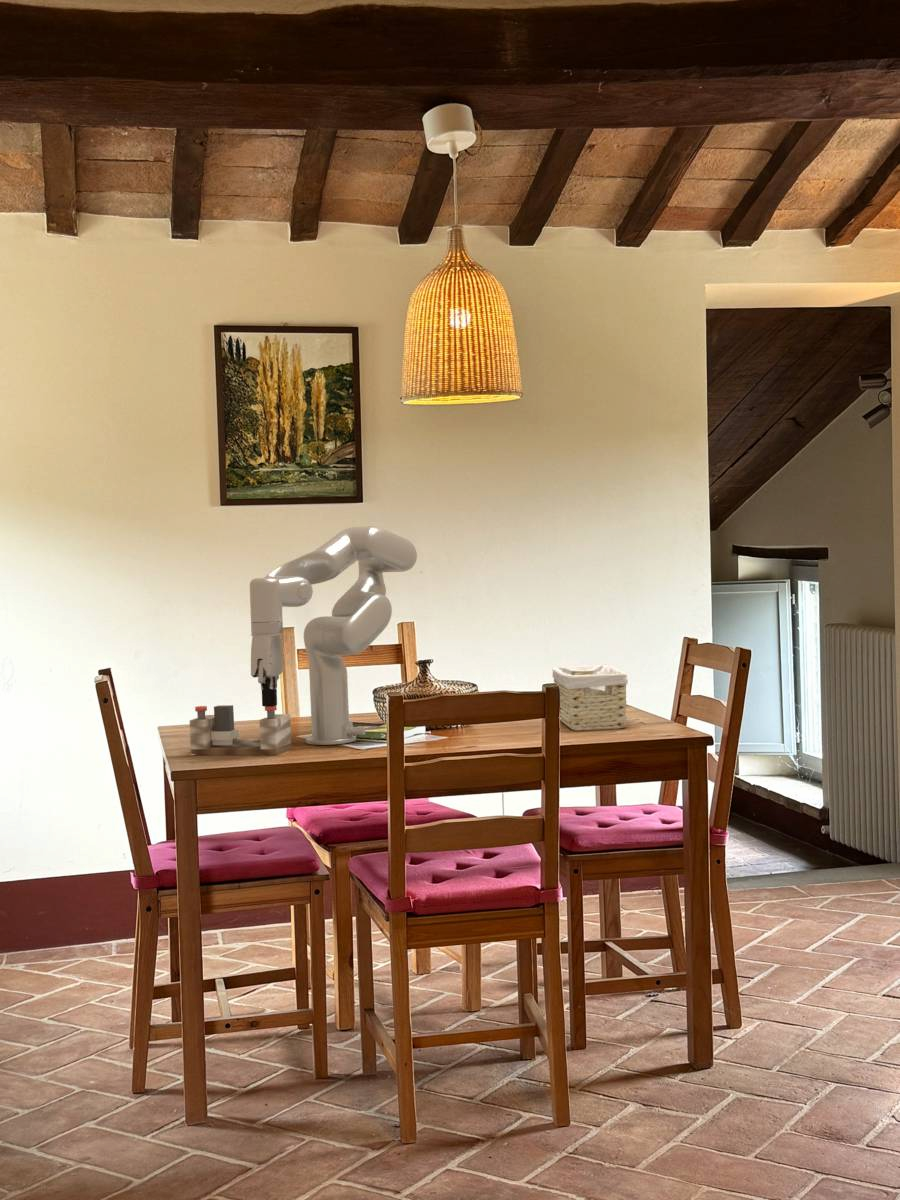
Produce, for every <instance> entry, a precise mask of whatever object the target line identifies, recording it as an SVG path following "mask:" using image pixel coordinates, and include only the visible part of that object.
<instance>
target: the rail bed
mask: <svg viewBox="0 0 900 1200" xmlns="http://www.w3.org/2000/svg"><path fill="white" fill-rule="evenodd" d="M291 728H292V727H291V714H287V713H286V714H283V713H282V714H279V713H278V714H277V713H275V719H267V716H266V717H264V718H261V719H259V738H260V739H259V738H258V739H257V738H250V739H248V738H247V739H245V738H240V739H239V738H238V739H232V740H233V745H213V744H212V740H211V732H213V731H215V721H214V714H205V719H204V720H198V717H196V718H193V719H190V720H189V738H190V755H191V754H196V755H195V756H279V755H281V754H283V753H285V752H288V751H290V750H292V729H291Z"/></svg>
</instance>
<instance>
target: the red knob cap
mask: <svg viewBox="0 0 900 1200" xmlns="http://www.w3.org/2000/svg"><path fill="white" fill-rule="evenodd" d="M277 707H278V706H277V705H276V706H264V711H266V714H267V715H266V717H267V719H275V714H276V712H275V711H277V709H278V708H277Z"/></svg>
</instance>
